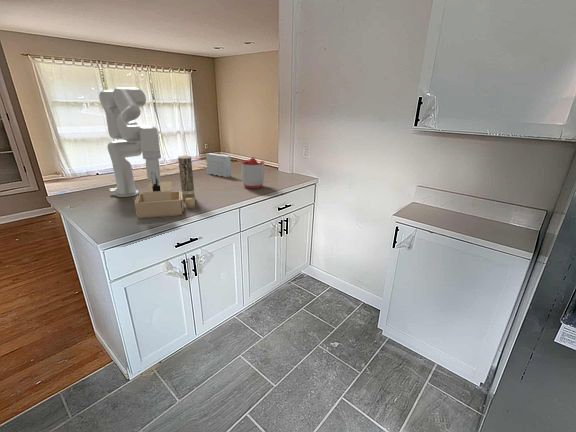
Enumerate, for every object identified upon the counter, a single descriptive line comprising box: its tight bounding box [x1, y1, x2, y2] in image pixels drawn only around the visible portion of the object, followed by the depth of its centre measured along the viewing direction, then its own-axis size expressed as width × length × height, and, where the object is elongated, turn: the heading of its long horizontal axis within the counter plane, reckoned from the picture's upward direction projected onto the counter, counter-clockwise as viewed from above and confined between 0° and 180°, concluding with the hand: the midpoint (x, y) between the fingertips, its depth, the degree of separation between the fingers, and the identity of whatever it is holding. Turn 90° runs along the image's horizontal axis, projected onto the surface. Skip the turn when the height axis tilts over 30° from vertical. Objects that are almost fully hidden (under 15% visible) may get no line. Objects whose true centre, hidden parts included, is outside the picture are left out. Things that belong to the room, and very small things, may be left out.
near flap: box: [141, 191, 172, 202], centre depth 140 cm, size 12×1×6 cm, turn 109°
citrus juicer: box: [240, 157, 265, 190], centre depth 198 cm, size 16×17×20 cm
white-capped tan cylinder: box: [184, 197, 196, 210], centre depth 159 cm, size 5×5×5 cm
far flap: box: [147, 180, 173, 192], centre depth 159 cm, size 12×1×6 cm
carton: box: [134, 190, 184, 220], centre depth 152 cm, size 22×16×8 cm
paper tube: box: [177, 155, 196, 201], centre depth 168 cm, size 7×7×25 cm
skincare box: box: [205, 152, 232, 178], centre depth 226 cm, size 21×5×16 cm, turn 58°
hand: (157, 193), depth 140 cm, fingers closed
